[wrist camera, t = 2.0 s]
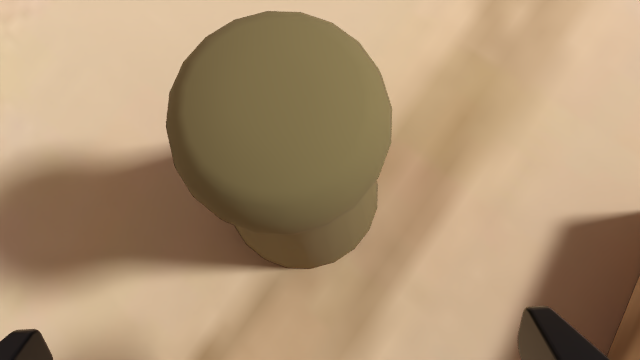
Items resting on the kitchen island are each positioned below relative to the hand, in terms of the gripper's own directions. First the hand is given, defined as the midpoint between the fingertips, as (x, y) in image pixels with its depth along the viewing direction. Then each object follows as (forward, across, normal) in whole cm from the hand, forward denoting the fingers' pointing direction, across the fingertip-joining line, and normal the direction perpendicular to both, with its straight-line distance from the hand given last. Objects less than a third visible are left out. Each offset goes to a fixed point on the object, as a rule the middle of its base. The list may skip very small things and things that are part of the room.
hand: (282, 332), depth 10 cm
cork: (+11, 0, +5) cm, 12 cm away
